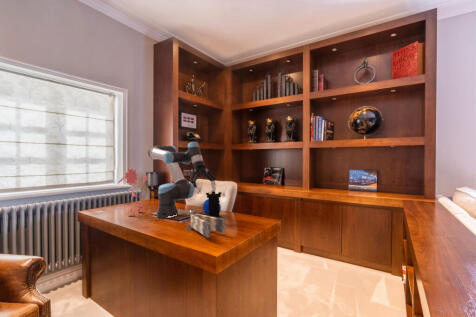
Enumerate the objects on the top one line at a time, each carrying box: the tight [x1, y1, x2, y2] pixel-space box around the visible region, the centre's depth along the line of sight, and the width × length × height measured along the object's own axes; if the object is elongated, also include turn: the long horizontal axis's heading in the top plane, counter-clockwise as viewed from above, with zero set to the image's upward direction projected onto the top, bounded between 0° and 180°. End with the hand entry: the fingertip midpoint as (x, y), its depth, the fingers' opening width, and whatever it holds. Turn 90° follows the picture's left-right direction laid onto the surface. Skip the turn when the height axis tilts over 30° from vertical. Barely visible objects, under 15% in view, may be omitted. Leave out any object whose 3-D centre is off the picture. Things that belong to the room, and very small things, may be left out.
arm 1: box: [190, 214, 211, 238], centre depth 130 cm, size 22×2×7 cm, turn 34°
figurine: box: [117, 168, 150, 217], centre depth 178 cm, size 15×26×35 cm, turn 161°
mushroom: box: [202, 198, 222, 216], centre depth 169 cm, size 14×14×15 cm
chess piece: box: [205, 190, 223, 218], centre depth 151 cm, size 8×8×20 cm
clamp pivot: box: [186, 209, 196, 231], centre depth 141 cm, size 5×5×11 cm
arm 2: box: [194, 213, 226, 234], centre depth 134 cm, size 22×2×7 cm, turn 54°
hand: (206, 191), depth 154 cm, fingers open, 13 cm apart
